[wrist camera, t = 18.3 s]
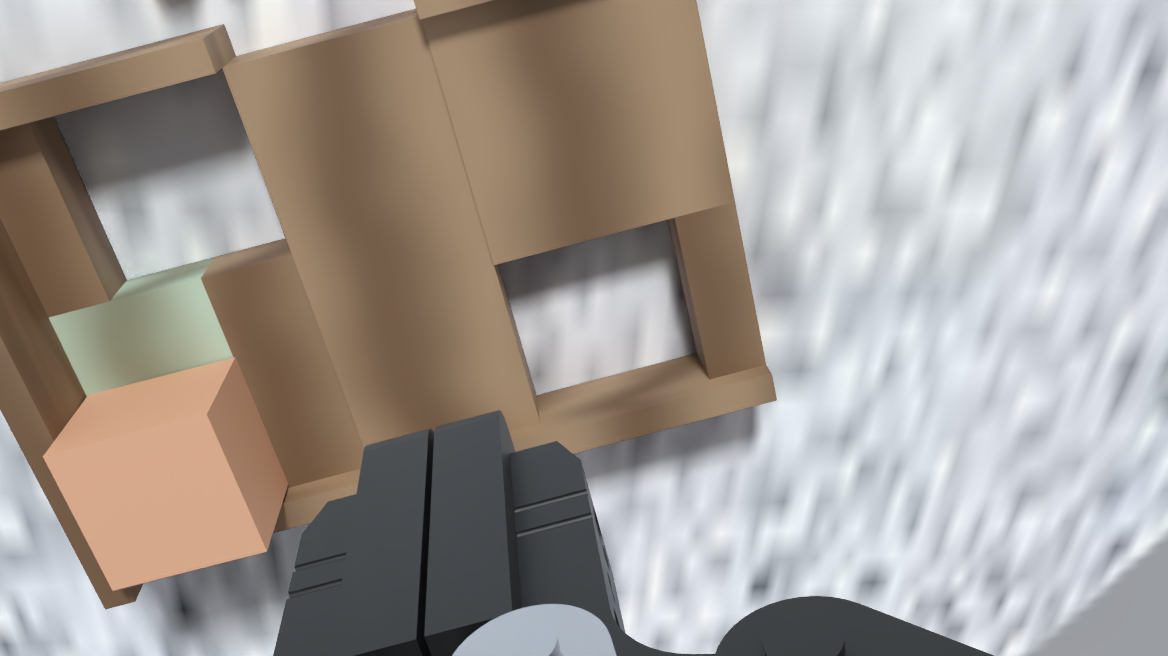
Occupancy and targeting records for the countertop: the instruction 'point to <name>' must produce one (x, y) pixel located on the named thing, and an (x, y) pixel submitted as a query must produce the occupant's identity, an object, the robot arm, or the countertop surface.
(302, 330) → the brown wooden compartment frame
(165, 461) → the block
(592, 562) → the robot arm
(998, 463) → the countertop surface
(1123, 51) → the countertop surface
